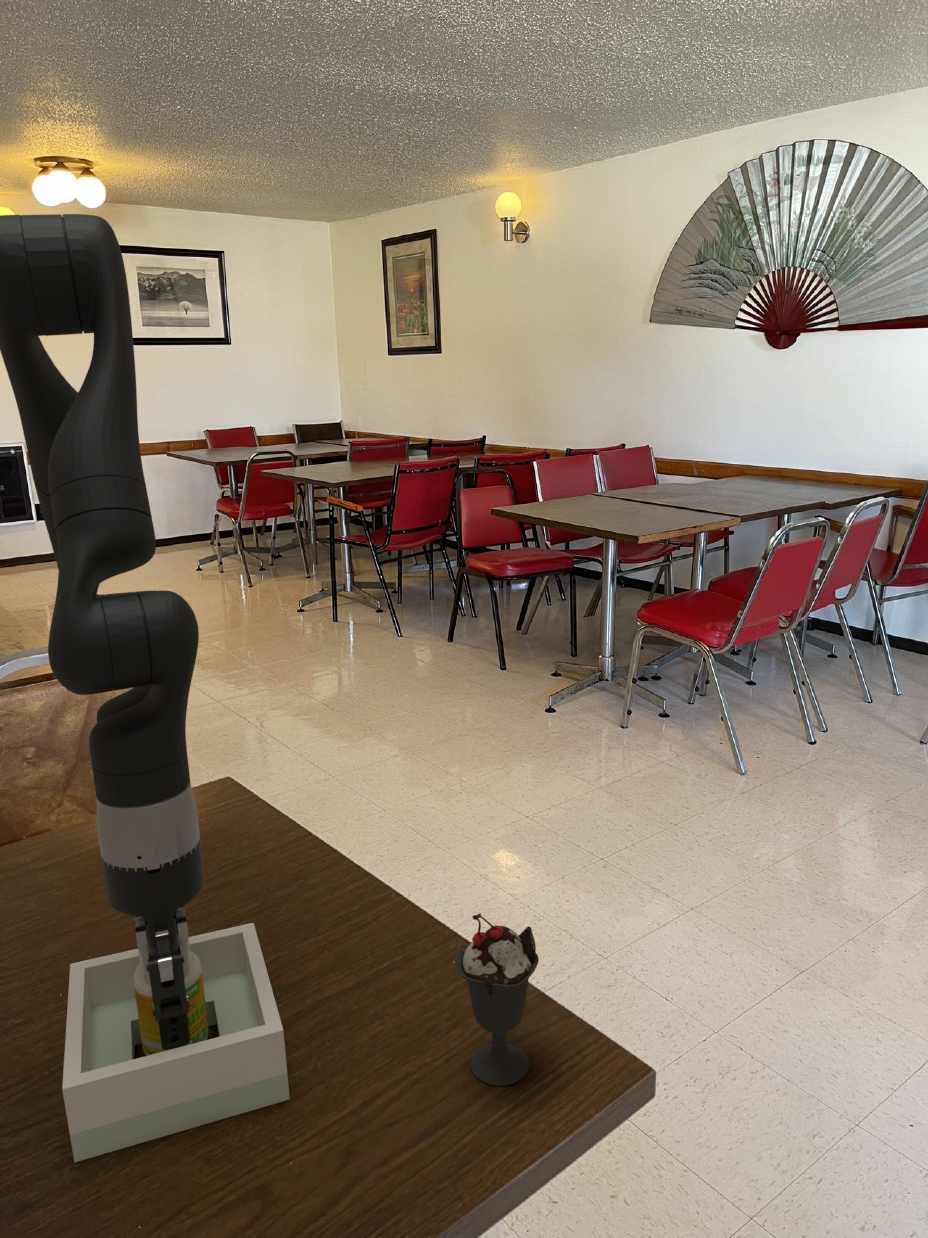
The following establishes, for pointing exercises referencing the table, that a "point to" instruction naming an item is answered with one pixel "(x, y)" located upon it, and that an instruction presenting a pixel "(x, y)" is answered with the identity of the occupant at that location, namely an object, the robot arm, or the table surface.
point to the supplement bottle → (196, 1001)
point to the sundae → (498, 997)
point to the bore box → (178, 1078)
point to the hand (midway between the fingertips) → (173, 1021)
